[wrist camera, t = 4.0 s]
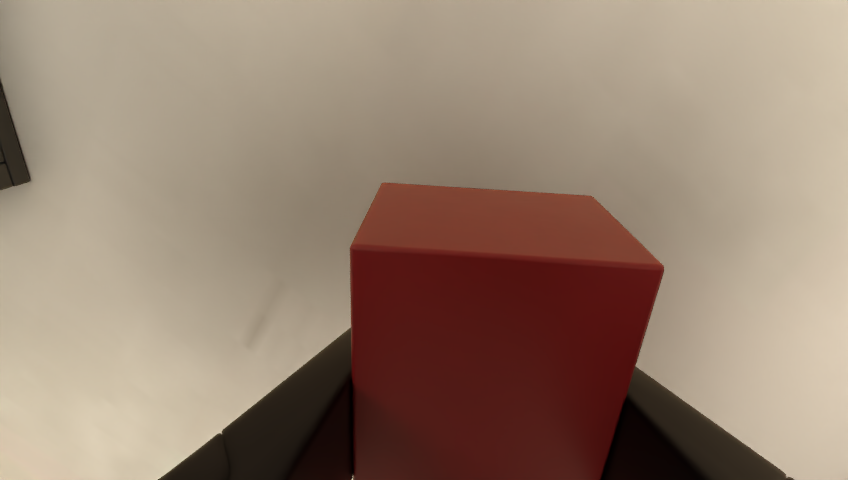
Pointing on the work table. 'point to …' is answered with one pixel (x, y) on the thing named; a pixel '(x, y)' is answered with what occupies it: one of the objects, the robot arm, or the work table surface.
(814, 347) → the work table surface
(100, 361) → the work table surface
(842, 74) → the work table surface
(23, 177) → the storage bin
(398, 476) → the red rectangular block
